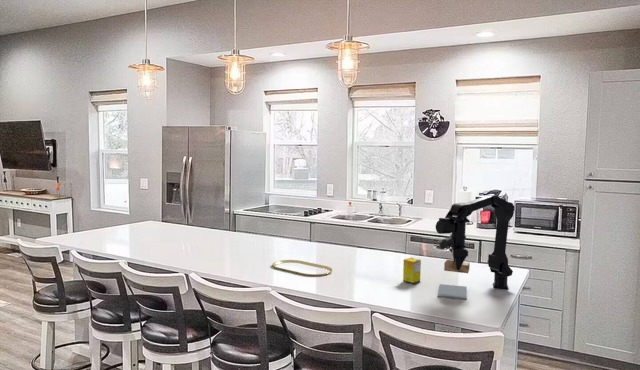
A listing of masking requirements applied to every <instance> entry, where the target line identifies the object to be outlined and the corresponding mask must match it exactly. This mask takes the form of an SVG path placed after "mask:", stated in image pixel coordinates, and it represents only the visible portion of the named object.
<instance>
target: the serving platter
mask: <svg viewBox="0 0 640 370" xmlns="http://www.w3.org/2000/svg"><path fill="white" fill-rule="evenodd" d="M286 263H288V264H289V263H293V264H301V265H305V266H310V267H314V268H320V269H323V268H324V270H326V269H327V271H328V270H329V271H330V272H329V271H328V272H325V273H314V274H313V273H305V272H300V271H295V270H292V269H287V268H283V267H278V266H277V265H281V264H286ZM272 267H273V268H275V269H277V270H280V271H284V272H289V273H292V272H293V274H298V275H301V276H306V275H307V276H306V277H323V275H324V276H326V275H327V274H328V275H330V274H331V273H332V272H333V268H332V267H330V266H328V265H321V264H318V263H314V262H309V261H303V260H298V259H282V260H277V261H274V262H273V263H272Z"/></svg>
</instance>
